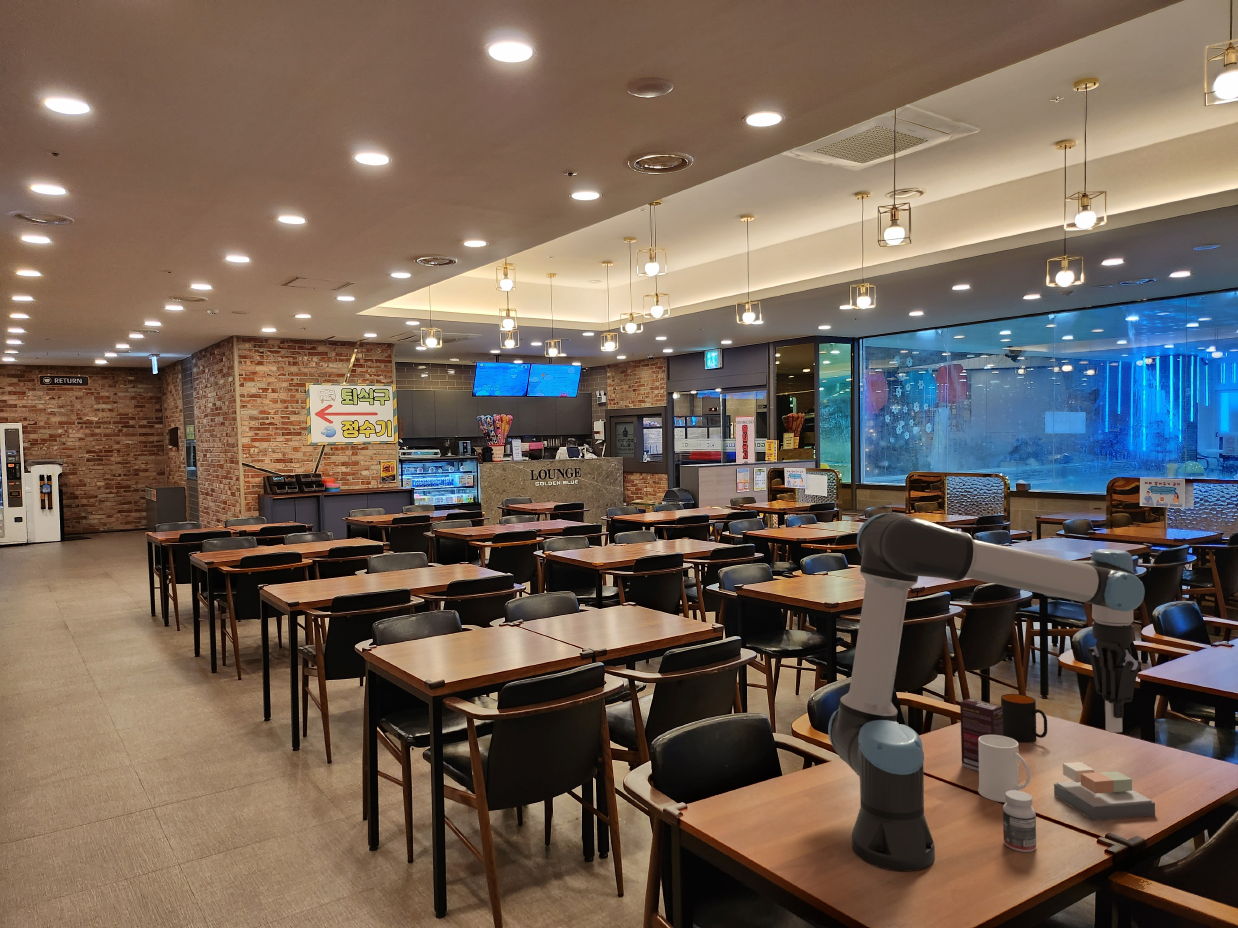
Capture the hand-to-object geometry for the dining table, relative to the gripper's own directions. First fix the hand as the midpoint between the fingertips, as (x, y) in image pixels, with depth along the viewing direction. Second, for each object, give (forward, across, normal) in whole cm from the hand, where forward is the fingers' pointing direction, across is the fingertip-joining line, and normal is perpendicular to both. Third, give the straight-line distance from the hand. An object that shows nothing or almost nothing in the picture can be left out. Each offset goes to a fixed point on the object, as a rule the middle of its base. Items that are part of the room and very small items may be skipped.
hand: (1114, 730), depth 167 cm
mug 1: (+16, +38, -5) cm, 42 cm away
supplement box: (+16, +22, +17) cm, 32 cm away
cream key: (+11, +3, +6) cm, 13 cm away
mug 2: (+16, +7, +21) cm, 27 cm away
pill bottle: (+16, -13, +31) cm, 37 cm away
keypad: (+16, 0, +3) cm, 16 cm away
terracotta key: (+11, -3, +6) cm, 13 cm away
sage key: (+12, 0, 0) cm, 12 cm away
